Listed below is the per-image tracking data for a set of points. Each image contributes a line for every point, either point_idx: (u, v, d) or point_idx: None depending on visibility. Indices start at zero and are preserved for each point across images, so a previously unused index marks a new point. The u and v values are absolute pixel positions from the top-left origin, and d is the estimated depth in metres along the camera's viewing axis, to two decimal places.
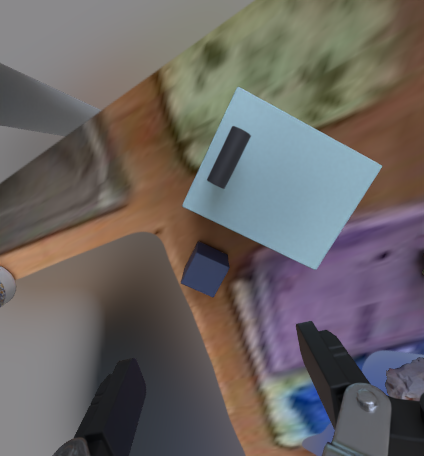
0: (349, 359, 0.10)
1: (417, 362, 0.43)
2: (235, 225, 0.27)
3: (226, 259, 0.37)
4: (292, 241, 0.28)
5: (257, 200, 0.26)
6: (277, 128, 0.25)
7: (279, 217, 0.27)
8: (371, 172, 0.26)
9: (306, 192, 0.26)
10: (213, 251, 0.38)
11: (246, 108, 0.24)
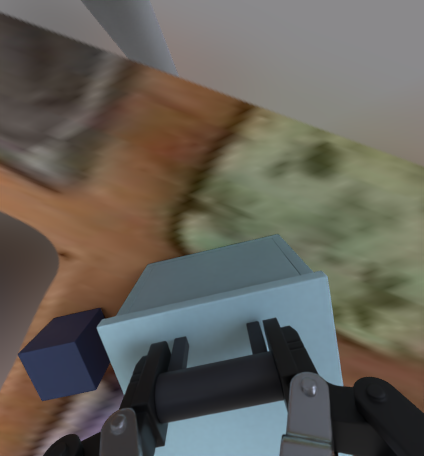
0: (304, 352, 0.10)
1: None
2: None
3: (107, 363, 0.24)
4: None
5: None
6: None
7: (201, 447, 0.16)
8: None
9: (261, 450, 0.16)
10: None
11: (307, 309, 0.14)
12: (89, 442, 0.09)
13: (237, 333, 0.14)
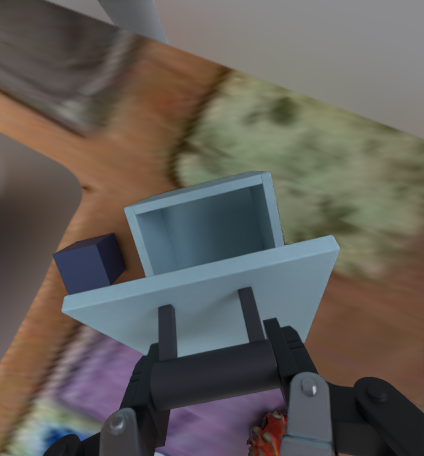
0: (304, 351, 0.10)
1: None
2: (131, 341, 0.16)
3: (118, 273, 0.31)
4: None
5: (186, 334, 0.17)
6: (295, 301, 0.15)
7: (190, 346, 0.19)
8: None
9: (238, 340, 0.20)
10: (115, 255, 0.31)
11: (305, 273, 0.12)
12: (89, 442, 0.09)
13: (227, 295, 0.13)
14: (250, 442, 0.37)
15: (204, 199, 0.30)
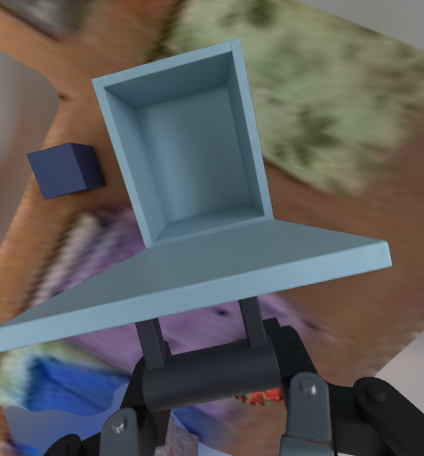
0: (304, 351, 0.10)
1: None
2: None
3: (96, 183, 0.31)
4: None
5: None
6: None
7: None
8: None
9: None
10: (93, 166, 0.31)
11: None
12: (90, 441, 0.09)
13: None
14: None
15: (181, 106, 0.30)
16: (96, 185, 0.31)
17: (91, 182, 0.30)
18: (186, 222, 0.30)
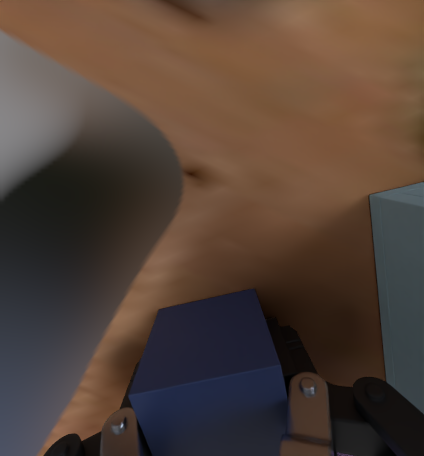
0: (303, 351, 0.10)
1: None
2: None
3: None
4: None
5: None
6: None
7: None
8: None
9: None
10: None
11: None
12: (90, 441, 0.09)
13: None
14: None
15: None
16: None
17: None
18: None
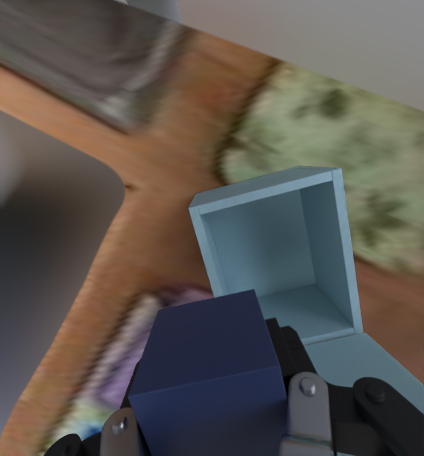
0: (303, 351, 0.10)
1: None
2: None
3: None
4: None
5: None
6: None
7: None
8: None
9: None
10: None
11: None
12: (90, 441, 0.09)
13: None
14: None
15: None
16: None
17: None
18: None
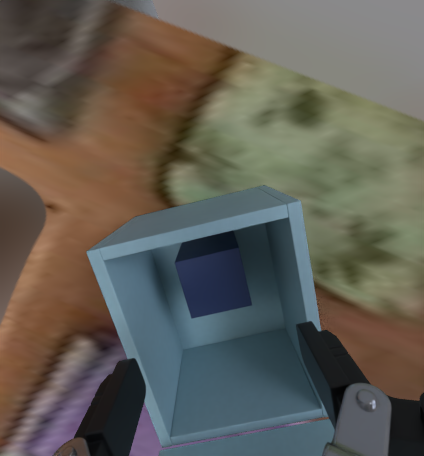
0: (349, 359, 0.10)
1: None
2: None
3: None
4: None
5: None
6: None
7: None
8: None
9: None
10: None
11: None
12: None
13: None
14: None
15: None
16: None
17: None
18: (208, 367, 0.24)
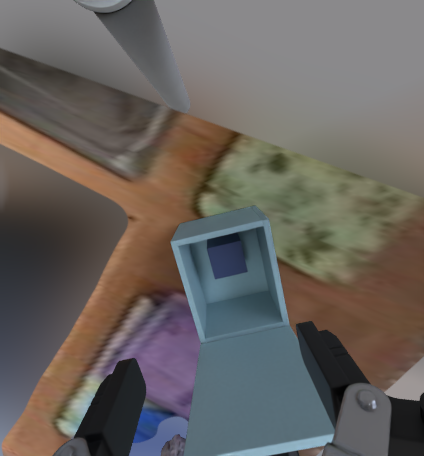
0: (349, 359, 0.10)
1: None
2: None
3: None
4: None
5: None
6: None
7: None
8: None
9: None
10: None
11: None
12: None
13: None
14: None
15: None
16: None
17: None
18: (222, 311, 0.41)
